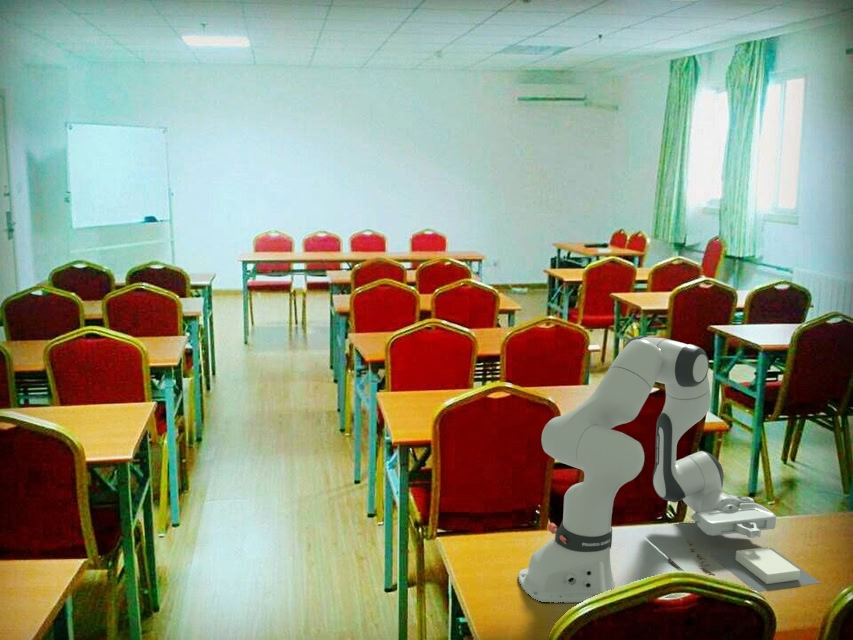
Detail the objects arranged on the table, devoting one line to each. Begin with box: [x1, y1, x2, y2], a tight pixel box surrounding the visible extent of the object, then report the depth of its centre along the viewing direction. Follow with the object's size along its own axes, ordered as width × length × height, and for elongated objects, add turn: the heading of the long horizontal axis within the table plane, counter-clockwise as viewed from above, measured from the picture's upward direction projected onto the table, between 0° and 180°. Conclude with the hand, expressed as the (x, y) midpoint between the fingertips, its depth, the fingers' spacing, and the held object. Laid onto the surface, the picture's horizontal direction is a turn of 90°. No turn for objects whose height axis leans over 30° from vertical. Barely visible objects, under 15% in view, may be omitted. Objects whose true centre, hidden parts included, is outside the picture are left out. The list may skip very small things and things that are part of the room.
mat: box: [710, 547, 822, 593], centre depth 193 cm, size 18×18×1 cm
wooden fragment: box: [667, 541, 716, 577], centre depth 199 cm, size 26×11×1 cm, turn 179°
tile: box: [735, 546, 800, 584], centre depth 192 cm, size 9×3×12 cm
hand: (755, 534), depth 196 cm, fingers closed
